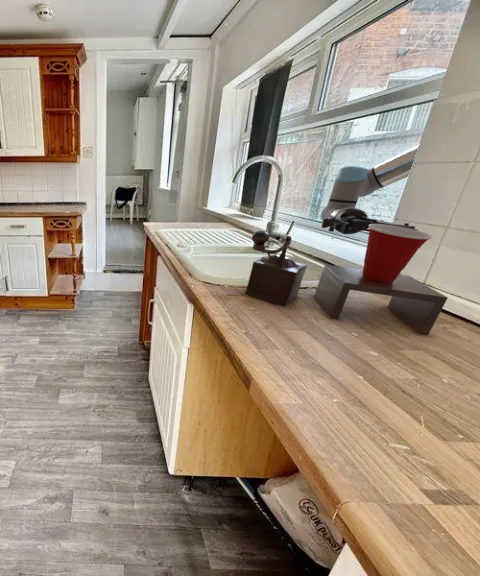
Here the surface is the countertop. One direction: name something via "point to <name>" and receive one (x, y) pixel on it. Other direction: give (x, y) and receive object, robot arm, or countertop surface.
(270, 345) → the countertop surface
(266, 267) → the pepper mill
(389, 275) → the plastic cup
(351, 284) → the shelf
